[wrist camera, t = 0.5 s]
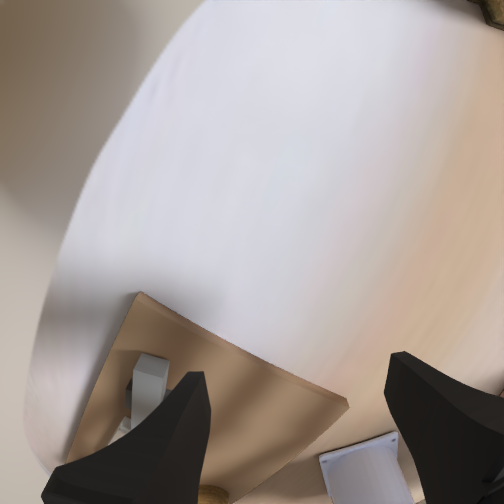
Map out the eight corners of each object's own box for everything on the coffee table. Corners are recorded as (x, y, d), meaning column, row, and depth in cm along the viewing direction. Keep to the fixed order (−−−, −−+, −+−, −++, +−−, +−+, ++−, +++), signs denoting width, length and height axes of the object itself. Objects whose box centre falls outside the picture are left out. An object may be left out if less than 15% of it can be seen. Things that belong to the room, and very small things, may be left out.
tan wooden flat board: (346, 398, 23) (357, 428, 20) (196, 519, 29) (193, 540, 26) (140, 291, 21) (121, 314, 17) (66, 461, 27) (56, 481, 23)
